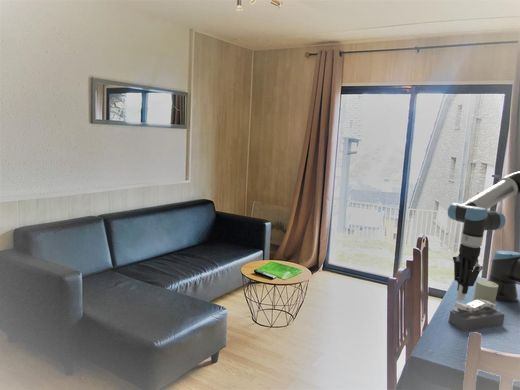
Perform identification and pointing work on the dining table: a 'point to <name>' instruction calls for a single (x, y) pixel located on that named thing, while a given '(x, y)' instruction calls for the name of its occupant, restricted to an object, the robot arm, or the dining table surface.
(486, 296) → the can
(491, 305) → the rocker
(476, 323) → the rocker switch panel
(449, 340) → the dining table surface
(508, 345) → the dining table surface
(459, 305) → the rocker
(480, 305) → the rocker
